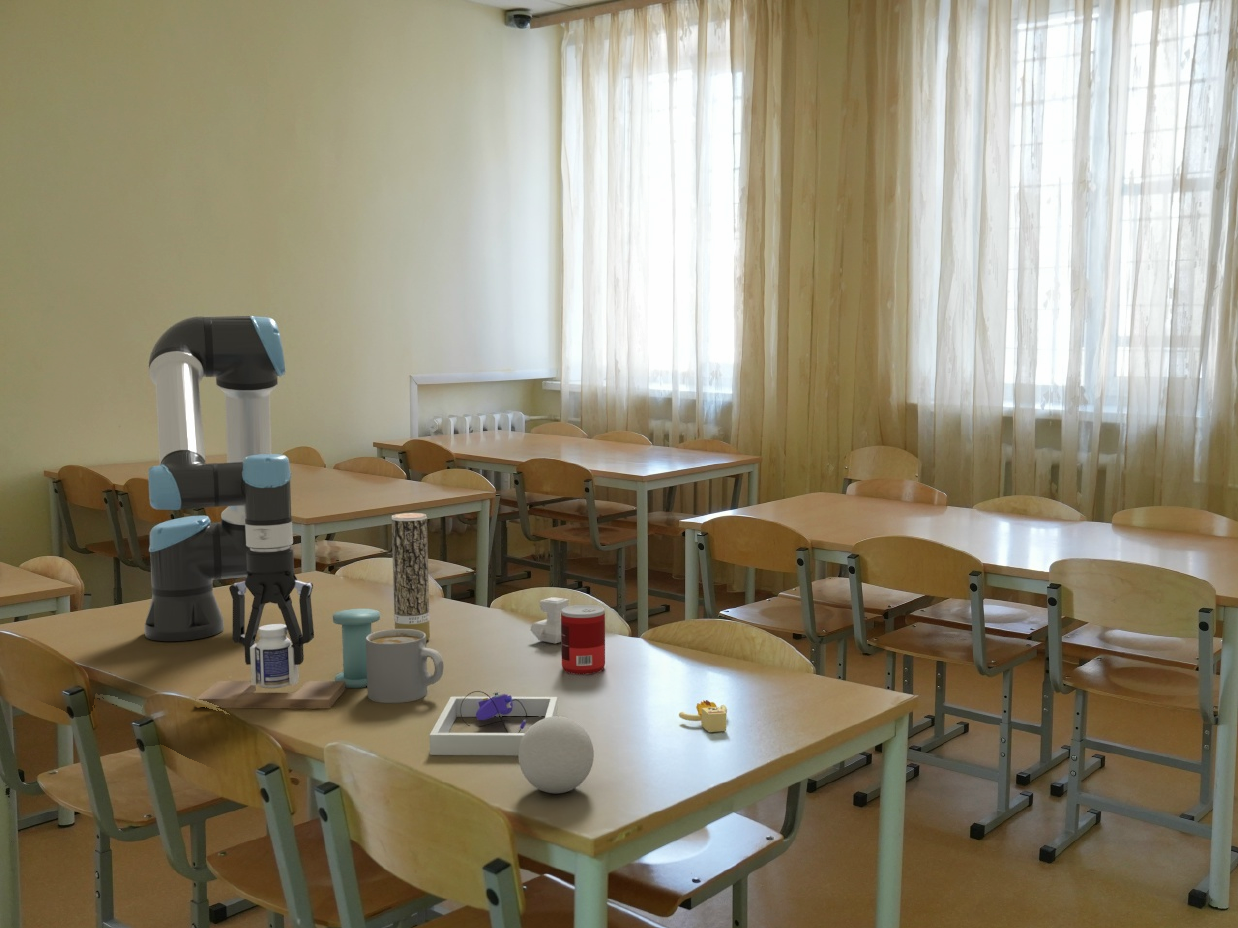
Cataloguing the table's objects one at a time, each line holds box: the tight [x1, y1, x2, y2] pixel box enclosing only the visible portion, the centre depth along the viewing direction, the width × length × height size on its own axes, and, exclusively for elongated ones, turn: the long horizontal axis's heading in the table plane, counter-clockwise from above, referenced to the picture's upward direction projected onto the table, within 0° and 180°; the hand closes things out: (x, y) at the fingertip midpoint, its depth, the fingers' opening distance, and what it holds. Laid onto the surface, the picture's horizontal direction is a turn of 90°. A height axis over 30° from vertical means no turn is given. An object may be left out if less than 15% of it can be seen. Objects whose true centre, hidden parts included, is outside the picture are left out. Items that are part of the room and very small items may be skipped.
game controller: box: [460, 690, 527, 733], centre depth 184 cm, size 10×8×10 cm
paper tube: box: [391, 512, 431, 642], centre depth 235 cm, size 7×7×25 cm
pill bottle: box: [256, 623, 292, 690], centre depth 201 cm, size 6×6×10 cm
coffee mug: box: [366, 628, 444, 704], centre depth 201 cm, size 13×10×10 cm
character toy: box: [678, 699, 728, 733], centre depth 185 cm, size 8×3×8 cm
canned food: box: [560, 604, 606, 675], centre depth 216 cm, size 8×8×11 cm
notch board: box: [195, 680, 346, 709], centre depth 200 cm, size 22×10×2 cm, turn 88°
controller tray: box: [429, 696, 559, 756], centre depth 182 cm, size 17×18×3 cm
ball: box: [518, 715, 595, 795], centre depth 159 cm, size 10×10×10 cm
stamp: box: [530, 596, 570, 644], centre depth 235 cm, size 9×7×8 cm
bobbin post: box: [332, 608, 381, 689], centre depth 209 cm, size 8×8×12 cm
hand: (275, 682), depth 202 cm, fingers closed on pill bottle, 6 cm apart
